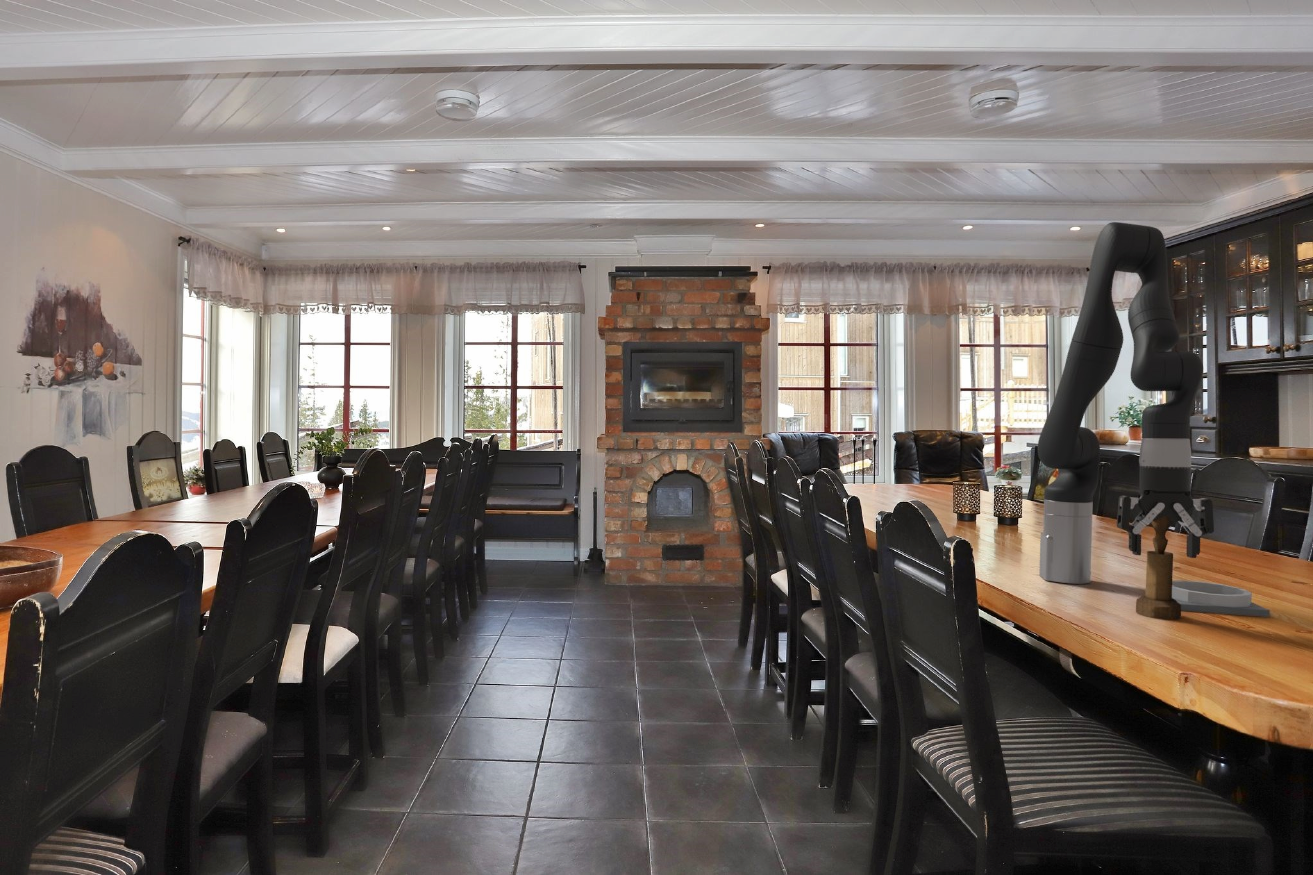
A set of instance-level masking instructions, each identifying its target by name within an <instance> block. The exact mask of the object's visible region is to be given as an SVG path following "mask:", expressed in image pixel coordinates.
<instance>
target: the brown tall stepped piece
mask: <svg viewBox="0 0 1313 875" xmlns="http://www.w3.org/2000/svg"><path fill="white" fill-rule="evenodd" d="M1150 525H1151V526H1152V528H1153V529H1154V532H1155V535H1154V537H1152V544H1153V548H1154V550H1147V551H1146V571H1145V572H1146V573H1145V594H1144V595H1141V596H1140V597H1138V598H1136V601H1135V612H1136V613H1137V614H1138V615H1141V616H1143V617H1148V618H1153V619H1161V620H1180V619H1181V618H1182V611H1181V605H1180V604H1179V603H1178V602H1177V601H1176V600H1175V599H1173V598H1172V581H1173V575H1174V574H1173V570H1174V568H1173V567H1174V566H1173V565H1174V553H1172V552H1169V551H1166V549H1167V546H1168V542H1169V539H1167V538H1166V533H1167V532H1168V531H1169V529H1170V527H1171V525H1172V522H1171V521H1170V519H1169V518H1168V517H1165V516H1161V517H1159V518H1158V519H1157V520H1155V521H1153V520H1152V521H1151V522H1150Z"/></svg>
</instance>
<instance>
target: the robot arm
mask: <svg viewBox="0 0 1313 875" xmlns="http://www.w3.org/2000/svg"><path fill="white" fill-rule="evenodd" d="M1115 272H1120V273H1121V272H1122V273H1131V274H1137V275H1138V277H1139V278H1140V281H1141V286H1140V288H1139V289H1138V291H1137V293H1136V294H1135V296H1134V297H1133V299H1132V300H1131V302H1130V304H1129V307H1128V310H1127V320H1128V324H1129V325H1128V326H1129V329H1130V333H1131V336H1132V337H1131V338H1132V340H1133V356H1132V361H1131V362H1132V363H1131V369H1130V380H1131V382H1132V384H1133V385H1134V387H1136V388H1137V389H1139V390H1140V391H1143V392H1173V393H1172V396H1171V398H1170V399H1169V400H1168V401H1167V402H1165V403H1160V404H1154V405H1150V406H1149V405H1148V406H1146V407H1144V409H1143V410H1142V413H1141V442H1140V448H1139V449H1140V450H1139V458H1138V463H1139V480H1138V481H1139V483H1138V484H1139V486H1138V488H1139V492H1138V493H1139V494H1138V496H1137V497H1131V496H1127V495H1120V496H1119V497H1118V502H1117V503H1118V505H1117V517H1116V527H1117V528H1118V529H1120V530H1123V531H1126V532H1127V533H1128V550H1129V551H1130V552H1131V553H1132V555H1135V556H1141V555H1142V534H1140V533H1141V532H1142V531H1143V530H1144V529H1145V528H1146V526H1148V525H1151V521H1152V520H1153V521H1155V520H1157V519H1158V518H1159V517H1161V516H1165V517H1168V518H1169V519H1170V521H1171V523H1179V525H1181V526H1182V527H1183V528H1184V529H1185V531H1186V532H1187V533H1188V535H1186V552H1185V553H1186V557H1188V558H1191V559H1196V558H1197V556H1200V553H1201V537H1202V536H1203V535H1207V534H1213V533H1214V531H1215V526H1214V525H1215V523H1214V522H1215V521H1214V509H1213V508H1214V507H1213V504H1214V503H1213V500H1212V499H1211V498H1205V497H1200V498H1193V497H1192V495H1191V491H1192V490H1191V489H1192V449H1191V439H1190V438H1191V437H1190V433H1191V432H1190V431H1191V415H1192V414H1191V412H1192V410H1193V405H1194V401H1195V398H1196V395H1197V392H1198V390H1199V387H1200V385H1201V382H1202V378H1203V375H1204V365H1203V364H1204V363H1203V362H1202V360H1201V358H1200V357H1199V354H1196V352H1192V351H1189V350H1180V351H1179V350H1177V351H1172V349H1173V348H1175V346H1177V344H1178V343H1179V341H1180V331H1179V327H1178V324H1177V320H1176V318H1175V314H1174V311H1173V307H1172V305H1171V304H1172V303H1171V299H1170V294H1169V293H1170V292H1169V274H1168V273H1169V272H1168V258H1167V246H1166V241H1165V237H1164V234H1163V232H1162V231H1161V230H1160V229H1159V228H1157V227H1154V226H1150V225H1142V224H1134V223H1126V222H1118V221H1112V222H1109V223H1107V224H1106V225H1105V226H1103V228H1102V229H1101V231H1100V232H1099V234H1098V235H1097V239H1096V241H1095V243H1094V247H1093V252H1092V256H1091V261H1090V265H1089V270H1088V277H1087V282H1086V287H1085V292H1084V296H1083V300H1082V303H1081V307H1080V312H1079V316H1078V318H1077V322H1076V325H1075V329H1074V331H1073V334H1072V337H1071V341H1070V345H1069V347H1068V352H1067V355H1066V359H1065V363H1064V367H1063V371H1062V373H1061V377H1060V380H1059V383H1058V387H1057V389H1056V390H1057V391H1056V393H1055V396H1054V399H1053V401H1052V402H1053V403H1052V405H1051V407H1050V410H1049V412H1048V415H1047V417H1046V418H1045V419H1046V420H1045V422H1044V424H1043V427H1042V430H1041V432H1040V435H1039V438H1038V441H1037V455H1038V458H1039V460H1040V462H1041V463H1042V464H1043V466H1045V467H1046V468H1049V469H1052V470H1053V469H1054V470H1058V473H1057V476H1056V478H1055V479H1054V481H1052V482H1051V483H1049V484H1048V485H1046V486H1045V488H1044V491H1043V492H1044V494H1043V527H1042V528H1043V529H1042V530H1043V531H1042V532H1041V533H1040V536H1039V538H1040V540H1039V541H1040V543H1039V544H1040V545H1039V548H1040V549H1039V570H1038V571H1039V576H1040V577H1041V578H1042V579H1043V580H1045V581H1048V582H1049V581H1050V582H1055V583H1056V582H1057V583H1063V584H1064V583H1065V584H1076V585H1078V584H1079V585H1084V584H1089V583H1091V576H1092V575H1091V574H1092V541H1093V539H1092V537H1093V534H1092V533H1093V507H1094V506H1093V505H1094V504H1093V501H1094V494H1095V492H1096V491H1097V487H1098V485H1099V484H1098V483H1099V476H1100V474H1099V473H1100V463H1101V462H1100V461H1101V446H1100V445H1101V444H1100V441H1099V438H1098V436H1097V435H1096V433H1095V432H1094V431H1093V430H1091V429H1090V428H1087V427H1083V426H1081V425H1082V423H1083V419H1084V416H1085V413H1086V412H1087V409H1088V407H1090V406H1089V405H1090V404H1091V402H1092V401H1093V399H1094V398H1095V397H1096V396H1097V395H1098V394H1099V393H1100V391H1101V390H1102V389H1103V387H1104V386H1105V385H1106V384H1107V383H1108V382H1109V380H1110V379H1111V377H1112V376H1113V374H1114V372H1115V370H1116V367H1117V364H1118V361H1119V358H1120V355H1121V352H1122V348H1123V345H1124V332H1123V328H1122V324H1121V322H1120V319H1119V315H1118V314H1117V311H1116V306H1115V305H1114V300H1113V282H1114V277H1115ZM1169 350H1171V351H1169ZM1135 505H1137V506H1138V507H1139V508H1140V510H1141V511H1139V513H1138V515H1136V516H1135V517H1134V520H1133V522H1132V523H1130V519H1131V510H1133V509H1134V508H1135ZM1193 506H1194V508H1195V511H1198V522H1199V523H1198V524H1199V525H1197V524H1196V523H1195V520H1193V518H1192V517H1191V516H1190V514H1189V513H1188V512H1189V511H1190V510H1191V509H1192V508H1193Z"/></svg>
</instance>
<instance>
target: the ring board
mask: <svg viewBox="0 0 1313 875" xmlns="http://www.w3.org/2000/svg"><path fill="white" fill-rule="evenodd" d="M1252 594H1253V593H1252V591H1249V590H1247V589H1244V588H1241V587H1236V586H1232V585H1227V584H1221V583H1214V582H1208V581H1200V580H1199V581H1197V580H1183V579H1181V580H1178V579H1177V580H1172V598H1173V599H1175V600H1176V601H1177V602H1178V603H1179V604H1180V605H1181V612H1183V611H1184V612H1196V613H1209V614H1210V613H1211V614H1221V615H1222V614H1223V615H1237V616H1238V615H1239V616H1249V617H1250V616H1251V617H1252V616H1253V617H1265V618H1270V616H1271V615H1270V613H1271V610H1270V609H1268V608H1265V607H1263V606H1261V605H1258V604H1257V603H1254V602H1252V598H1253V597H1252V596H1253V595H1252Z"/></svg>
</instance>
